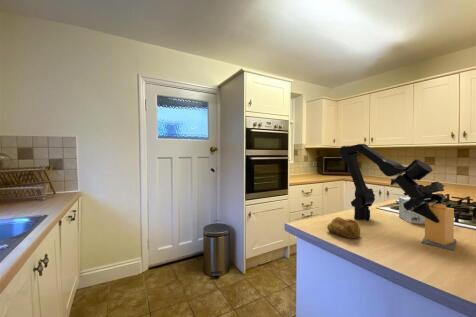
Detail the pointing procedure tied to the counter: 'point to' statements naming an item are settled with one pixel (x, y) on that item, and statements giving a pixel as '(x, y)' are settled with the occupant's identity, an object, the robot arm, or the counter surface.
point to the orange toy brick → (440, 225)
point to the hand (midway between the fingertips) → (443, 221)
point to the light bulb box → (409, 213)
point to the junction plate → (447, 246)
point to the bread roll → (344, 228)
